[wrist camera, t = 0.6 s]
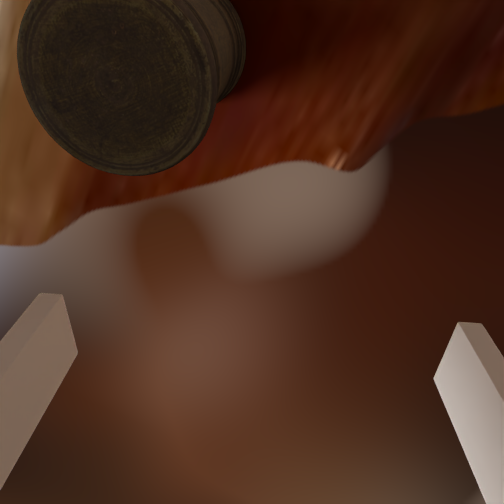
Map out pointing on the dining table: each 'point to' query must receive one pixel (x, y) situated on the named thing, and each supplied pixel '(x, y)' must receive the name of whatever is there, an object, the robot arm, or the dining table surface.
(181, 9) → the container
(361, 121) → the dining table surface
